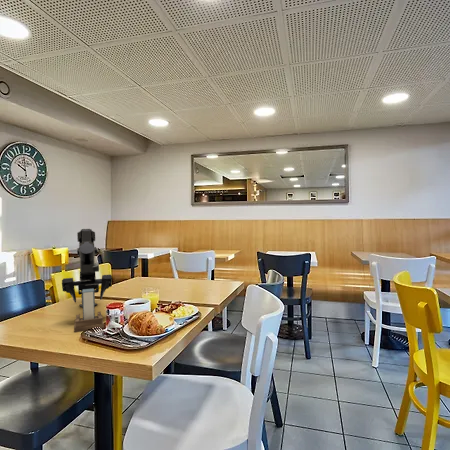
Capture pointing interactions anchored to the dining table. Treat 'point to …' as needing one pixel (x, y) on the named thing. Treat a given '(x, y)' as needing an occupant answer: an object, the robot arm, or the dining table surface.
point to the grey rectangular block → (88, 304)
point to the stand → (88, 323)
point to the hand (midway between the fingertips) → (88, 300)
